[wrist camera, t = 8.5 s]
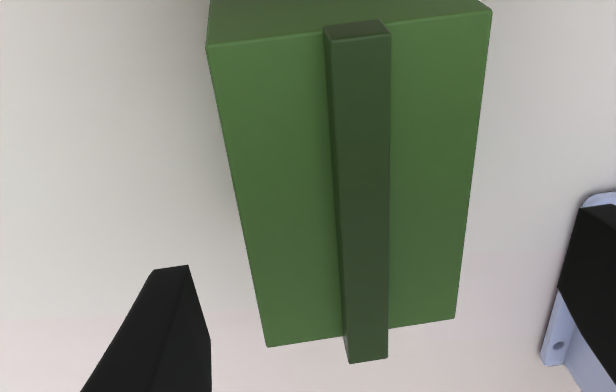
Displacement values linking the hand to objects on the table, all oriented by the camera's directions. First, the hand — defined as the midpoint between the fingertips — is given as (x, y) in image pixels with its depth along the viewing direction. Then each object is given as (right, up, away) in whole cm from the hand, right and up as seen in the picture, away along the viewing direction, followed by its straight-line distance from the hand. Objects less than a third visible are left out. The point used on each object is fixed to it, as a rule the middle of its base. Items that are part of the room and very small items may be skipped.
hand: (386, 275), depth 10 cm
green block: (-1, +4, +6) cm, 7 cm away
